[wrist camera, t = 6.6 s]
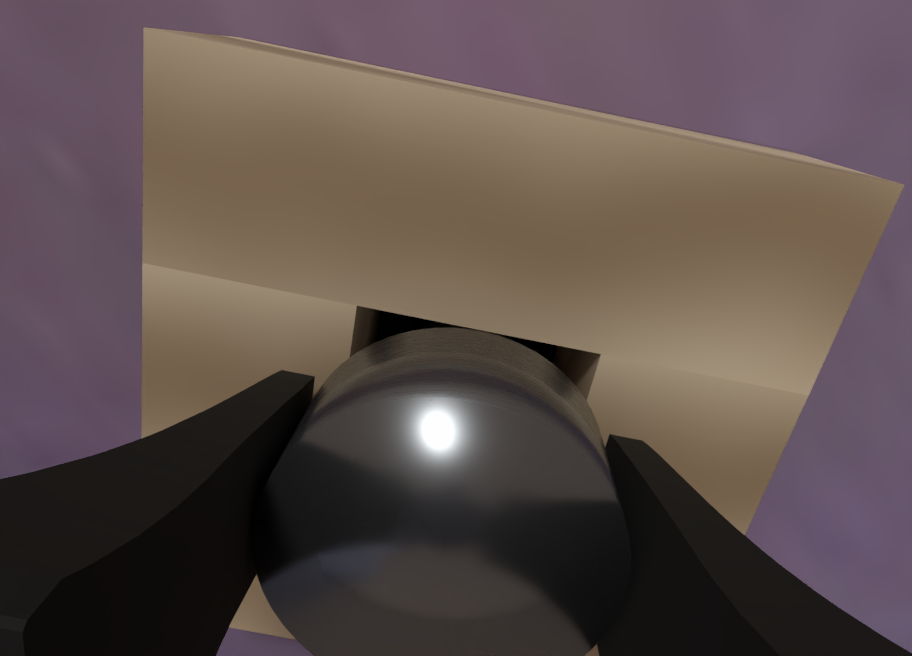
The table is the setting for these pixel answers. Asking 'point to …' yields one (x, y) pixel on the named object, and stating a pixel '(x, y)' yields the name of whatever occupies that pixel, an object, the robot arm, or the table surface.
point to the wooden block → (487, 249)
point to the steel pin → (444, 507)
